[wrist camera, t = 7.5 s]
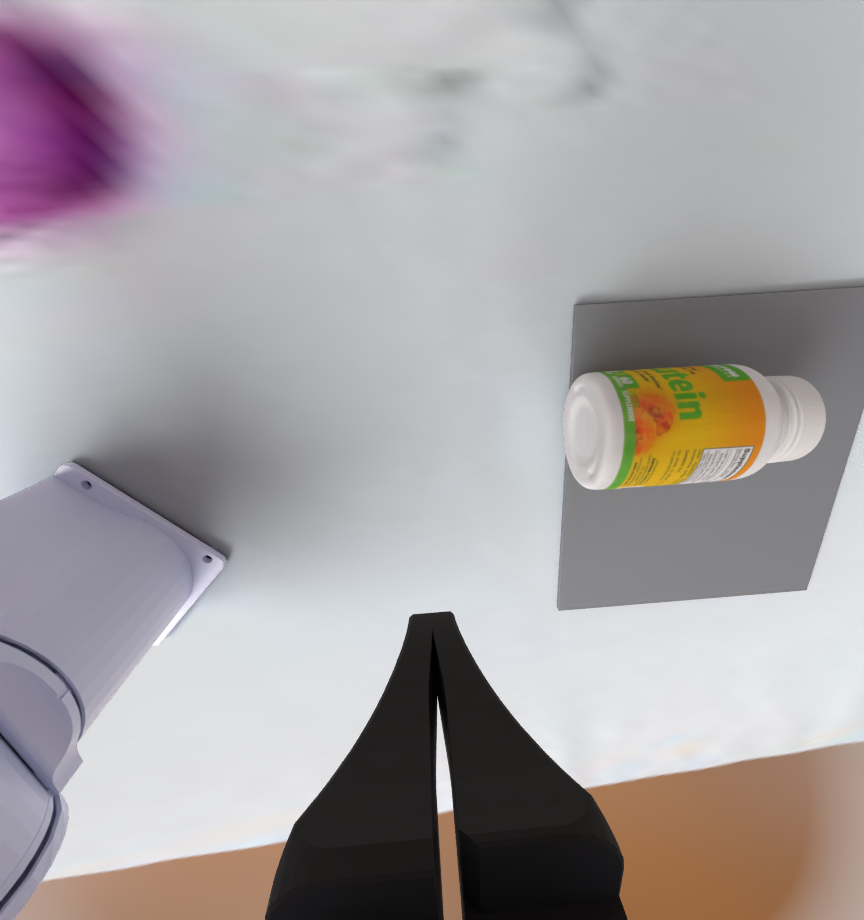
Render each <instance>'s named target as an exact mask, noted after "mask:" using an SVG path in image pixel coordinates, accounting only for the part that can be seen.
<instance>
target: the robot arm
mask: <svg viewBox="0 0 864 920" xmlns="http://www.w3.org/2000/svg"><path fill="white" fill-rule="evenodd" d="M87 481H88V482H90V483H91V485H92V487H91V486H89V485H88V484H87ZM206 555H208V556H210V557H211V558H212V559H208V558H207V557H206ZM226 563H227V560H226V558H225V556H223V555H222V554H220V553H219V552H217V551H216V550H214V549H212V548H211V547H209V546H208V545H206V544H204V543H203V542H201V541H200V540H198V539H196V538H195V537H193V536H192V535H190V534H188V533H187V532H185V531H184V530H182V529H180V528H179V527H177V526H176V525H174V524H172V523H171V522H169V521H167V520H166V519H164V518H163V517H161V516H159V515H158V514H156V513H155V512H153V511H151V510H150V509H148V508H147V507H145V506H143V505H142V504H140V503H139V502H137V501H135V500H134V499H132V498H131V497H129V496H127V495H126V494H124V493H123V492H121V491H119V490H118V489H116V488H114V487H113V486H111V485H110V484H108V483H106V482H105V481H103V480H102V479H100V478H98V477H97V476H95V475H94V474H92V473H90V472H89V471H87V470H86V469H84V468H82V467H81V466H79V465H78V464H75V463H73V462H68V463H65V464H63V465H61V466H60V467H58V469H57V471H56V472H55V474H54V475H53V476H52V477H50V478H48V479H45V480H43V481H41V482H39V483H37V484H35V485H32V486H30V487H28V488H26V489H24V490H22V491H19V492H17V493H15V494H13V495H11V496H9V497H6V498H4V499H2V500H0V920H15V918H16V917H17V916H18V914H19V913H20V912H21V910H22V909H23V908H24V906H25V904H26V903H27V902H28V901H29V899H30V898H31V896H32V895H33V893H34V892H35V890H36V889H37V888H38V886H39V885H40V883H41V882H42V880H43V878H44V877H45V875H46V873H47V872H48V870H49V868H50V867H51V865H52V863H53V861H54V859H55V857H56V855H57V853H58V851H59V849H60V847H61V844H62V841H63V838H64V836H65V833H66V829H67V824H68V819H69V816H68V805H67V803H66V801H65V798H64V797H63V796H62V795H61V793H60V792H61V791H62V790H63V788H64V787H65V785H66V784H67V783H68V781H69V780H70V779H71V777H72V776H73V774H74V773H75V772H76V770H77V769H78V768H79V766H80V765H81V763H82V762H83V760H82V758H81V756H80V755H79V753H78V750H77V742H78V741H79V740H80V739H81V737H82V736H83V735H84V733H85V732H86V731H87V730H88V728H89V727H90V726H91V724H92V723H93V722H94V720H95V719H96V718H97V717H98V715H99V714H100V713H101V711H102V710H103V709H104V707H105V706H106V705H107V704H108V702H109V701H110V700H111V698H112V697H113V696H114V695H115V693H116V692H117V691H118V689H119V688H120V687H121V685H122V684H123V683H124V682H125V680H126V679H127V678H128V676H129V675H130V674H131V673H132V671H133V670H134V669H135V667H136V666H137V665H138V663H139V662H140V661H141V660H142V658H143V657H144V656H145V654H146V653H147V652H148V651H149V649H150V648H151V647H152V646H157V645H159V644H160V643H161V642H162V641H163V640H164V639H165V637H166V636H167V635H168V634H169V633H170V632H171V630H172V629H173V628H174V627H175V626H176V624H177V623H178V622H179V621H180V620H181V618H182V617H183V616H184V615H185V614H186V612H187V611H188V610H189V609H190V608H191V606H192V605H193V604H194V603H195V602H196V600H197V599H198V598H199V597H200V596H201V594H202V593H203V592H204V591H205V590H206V589H207V587H208V586H209V585H210V584H211V583H212V581H213V580H214V579H215V578H216V577H217V575H218V574H219V573H220V572H221V571H222V569H223V568H224V567H225V565H226ZM437 696H438V702H439V708H440V715H441V721H442V727H443V733H444V740H445V746H446V752H447V758H448V764H449V771H450V779H451V787H452V798H453V810H454V822H455V833H456V846H457V858H458V870H459V881H460V893H461V905H462V919H463V920H627V916H626V914H625V911H624V908H623V905H622V903H621V900H620V897H619V893H620V888H621V882H622V876H623V871H624V860H623V856H622V854H621V851H620V848H619V846H618V843H617V841H616V839H615V837H614V835H613V833H612V831H611V829H610V827H609V825H608V823H607V821H606V819H605V817H604V816H603V814H602V812H601V810H600V809H599V807H598V805H597V804H596V802H595V800H594V799H593V797H592V796H591V795H590V794H589V793H588V792H587V791H586V790H585V789H584V788H582V787H581V786H580V785H579V784H578V783H577V782H576V781H574V780H573V779H572V778H571V777H570V776H569V775H568V774H567V773H566V772H565V771H564V770H563V769H561V768H560V767H559V766H558V765H557V764H556V763H555V762H554V761H553V760H552V759H551V758H550V757H549V756H548V755H547V754H546V753H545V752H544V751H543V750H542V748H541V747H540V746H539V745H538V744H537V743H536V742H535V741H534V740H533V739H532V737H531V736H530V735H529V734H528V733H527V732H526V731H525V730H524V729H523V728H522V726H521V725H520V724H519V723H518V722H517V720H516V719H515V718H514V717H513V716H512V714H511V713H510V712H509V711H508V709H507V708H506V707H505V705H504V704H503V703H502V701H501V700H500V699H499V697H498V696H497V695H496V693H495V692H494V690H493V689H492V687H491V686H490V684H489V683H488V681H487V680H486V678H485V677H484V675H483V674H482V672H481V670H480V669H479V667H478V665H477V664H476V662H475V660H474V658H473V657H472V655H471V653H470V651H469V649H468V648H467V646H466V644H465V642H464V639H463V637H462V635H461V633H460V631H459V628H458V626H457V623H456V620H455V617H454V614H453V613H452V612H450V611H449V612H437V613H425V614H413V615H412V616H411V617H410V618H409V624H408V628H407V633H406V636H405V640H404V643H403V646H402V649H401V652H400V655H399V657H398V660H397V663H396V665H395V668H394V670H393V673H392V675H391V677H390V679H389V682H388V684H387V686H386V688H385V691H384V693H383V695H382V697H381V699H380V701H379V703H378V705H377V707H376V709H375V710H374V712H373V714H372V716H371V718H370V720H369V721H368V723H367V725H366V726H365V728H364V730H363V731H362V733H361V735H360V736H359V738H358V740H357V741H356V743H355V744H354V746H353V748H352V749H351V751H350V752H349V754H348V755H347V757H346V758H345V759H344V761H343V762H342V764H341V765H340V766H339V768H338V769H337V771H336V772H335V773H334V775H333V776H332V778H331V779H330V780H329V782H328V783H327V784H326V786H325V787H324V788H323V790H322V791H321V792H320V793H319V795H318V796H317V797H316V798H315V799H314V801H313V802H312V803H311V804H310V806H309V807H308V808H307V809H306V810H305V812H304V813H303V814H302V815H301V816H300V818H299V819H298V820H297V821H296V822H295V824H294V826H293V828H292V831H291V833H290V836H289V838H288V840H287V843H286V846H285V848H284V851H283V854H282V856H281V859H280V862H279V866H278V868H277V871H276V874H275V878H274V881H273V886H272V890H271V894H270V899H269V903H268V907H267V912H266V915H265V920H444V917H443V899H442V884H441V883H442V882H441V866H440V848H439V833H438V813H437V795H436V739H437Z"/></svg>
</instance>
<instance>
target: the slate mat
mask: <svg viewBox="0 0 864 920" xmlns="http://www.w3.org/2000/svg"><path fill="white" fill-rule="evenodd" d="M719 364H736V365H742V366H746V367H749V368H751V369H753V370H755V371H757V372H759V373H760V374H761V375H763V376H764V377H766V376H795V377H799V378H802V379H804V380H806V381H808V382H809V383H810V384H811V385H813V386H814V387H815V388H816V390H817V391H818V392H819V394H820V395H821V397H822V400H823V402H824V406H825V411H826V424H825V429H824V432H823V435H822V437H821V439H820V441H819V443H818V444H817V445H816V447H815V448H814V449H813V450H812V451H811V452H809V453H808V454H807V455H805V456H803V457H801V458H799V459H796V460H791V461H783V462H774V463H766V465H764V466H763V467H762V468H761V469H760V470H758V471H757V472H755V473H753V474H751V475H749V476H747V477H744V478H740V479H735V480H728V481H717V482H703V483H689V484H675V485H661V486H647V487H634V488H620V489H603V490H592V489H587V488H585V487H583V486H582V485H581V484H580V483H579V482H578V481H577V480H576V479H575V477H574V476H573V474H572V472H571V470H570V467H569V464H568V460H567V457H565V475H564V492H563V509H562V526H561V544H560V561H559V578H558V596H557V608H558V610H559V611H561V610H573V609H585V608H597V607H609V606H621V605H633V604H645V603H657V602H669V601H681V600H693V599H705V598H717V597H729V596H741V595H753V594H765V593H777V592H789V591H801V590H807V587H808V584H809V580H810V577H811V574H812V571H813V568H814V565H815V561H816V558H817V555H818V552H819V549H820V545H821V542H822V539H823V536H824V533H825V529H826V526H827V523H828V520H829V517H830V514H831V510H832V507H833V504H834V501H835V498H836V494H837V491H838V488H839V485H840V482H841V479H842V475H843V472H844V469H845V466H846V463H847V459H848V456H849V453H850V450H851V447H852V444H853V440H854V437H855V434H856V431H857V428H858V424H859V421H860V418H861V415H862V412H863V408H864V287H853V288H837V289H821V290H806V291H790V292H774V293H759V294H743V295H727V296H711V297H696V298H680V299H664V300H649V301H633V302H617V303H602V304H586V305H574V319H573V336H572V353H571V371H570V388H571V386H572V384H573V383H574V381H575V380H576V379H577V378H578V377H580V376H581V375H583V374H586V373H593V372H605V371H624V370H640V369H656V368H673V367H689V366H703V365H719ZM570 388H569V390H570Z"/></svg>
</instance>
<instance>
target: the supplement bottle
mask: <svg viewBox="0 0 864 920" xmlns="http://www.w3.org/2000/svg"><path fill="white" fill-rule="evenodd" d="M825 424H826V411H825V406H824V402H823V400H822V397H821V395H820V394H819V392H818V391H817V390H816V388H815V387H814V386H813V385H811V384H810V383H809V382H808V381H806V380H804V379H802V378H799V377H795V376H766V377H764V376H763V375H761V374H760V373H759V372H757V371H755V370H753V369H751V368H749V367H746V366H742V365H736V364H719V365H703V366H689V367H673V368H656V369H640V370H624V371H605V372H593V373H586V374H583V375H581V376H580V377H578V378H577V379H576V380H575V381H574V383H573V384H572V386H571V388H570V390H569V392H568V395H567V398H566V401H565V405H564V411H563V438H564V446H565V452H566V457H567V460H568V464H569V467H570V470H571V472H572V474H573V476H574V477H575V479H576V480H577V481H578V482H579V483H580V484H581V485H582V486H583V487H585V488H587V489H592V490H603V489H620V488H634V487H647V486H661V485H675V484H689V483H703V482H717V481H728V480H735V479H740V478H744V477H747V476H749V475H751V474H753V473H755V472H757V471H758V470H760V469H761V468H762V467H763V466H764V465H766V463H774V462H783V461H791V460H796V459H799V458H801V457H803V456H805V455H807V454H808V453H809V452H811V451H812V450H813V449H814V448H815V447H816V445H817V444H818V443H819V441H820V439H821V437H822V435H823V432H824V429H825Z"/></svg>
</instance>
